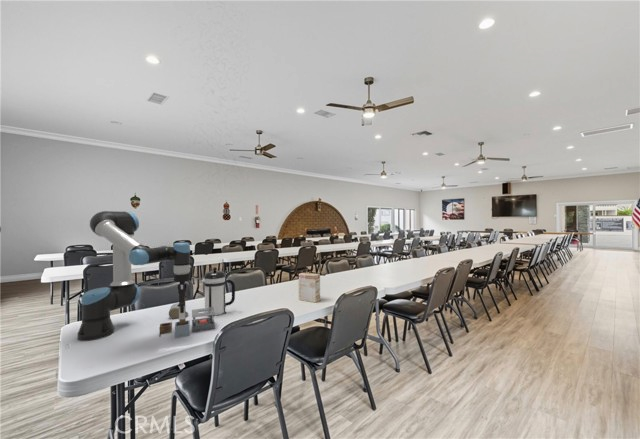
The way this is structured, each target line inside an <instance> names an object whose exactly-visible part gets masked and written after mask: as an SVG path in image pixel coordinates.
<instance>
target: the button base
mask: <svg viewBox="0 0 640 439" xmlns="http://www.w3.org/2000/svg"><path fill="white" fill-rule="evenodd" d="M205 311H208V312H205ZM209 315H211V317H209ZM214 315H215V312H214V308H213V307H211V308H205V307H203V308H197V309H196V308H195V309H192V310H191V318H192V319H191V330H192V331H191V333H196V332H202V331H204V332H205V331H211V330H215V329H216V328H215V327H216V325H215V324H216V323H215V319H214ZM200 317H203V318H200ZM202 319H207V322H206V323H199V321H200V320H202Z"/></svg>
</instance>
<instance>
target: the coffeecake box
mask: <svg viewBox="0 0 640 439" xmlns="http://www.w3.org/2000/svg"><path fill="white" fill-rule="evenodd" d="M298 300H299V301H304V302H309V303H314V304H315V303H317V302H320V301H321V274H320V273H312V272H301V273H298Z"/></svg>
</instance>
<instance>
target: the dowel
mask: <svg viewBox="0 0 640 439" xmlns="http://www.w3.org/2000/svg"><path fill="white" fill-rule="evenodd" d="M186 312H187V311H186ZM186 312H185V319H180V320H179V319H178V322H179V324H180V325H186V321H187V320H186V318H187V317H186Z"/></svg>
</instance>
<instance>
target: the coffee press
mask: <svg viewBox="0 0 640 439" xmlns="http://www.w3.org/2000/svg"><path fill="white" fill-rule="evenodd" d="M212 269H213V270H211V271H208V272H206V273H205V274H204V276H203V278H202V280H201V283H203V284H204V285H203V286H204V308H211V307H213V308H214V312H215V315H214V316H215V317H216V316H219V315H222V314H225V315H226V314H227V312H226V306H230V305H232V304H233V303H234V302H235V298H236V287H235V286H236V285H235V282H234V281H233V280H231V279H227V280H226V276H227V275H226V273H225V272H224V271H221V270H217V267H216V266H215V267H213V268H212ZM226 283H227V284H230V285H231V299H230V301H227V302H226ZM205 312H208V311H205ZM209 317H211V315H209V316H208V318H209Z"/></svg>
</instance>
